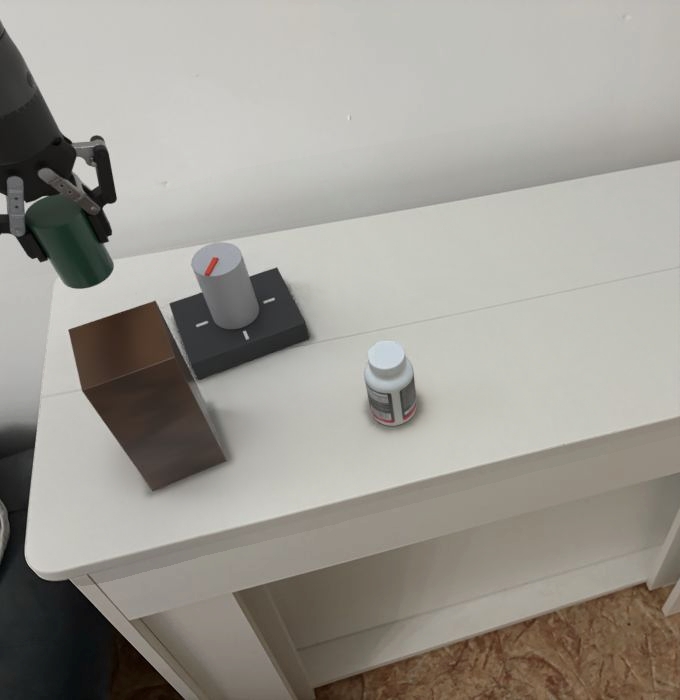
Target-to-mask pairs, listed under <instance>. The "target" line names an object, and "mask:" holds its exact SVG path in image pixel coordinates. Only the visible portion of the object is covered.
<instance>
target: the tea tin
mask: <svg viewBox="0 0 680 700" xmlns="http://www.w3.org/2000/svg"><path fill="white" fill-rule="evenodd" d="M25 222H26V223H27V225H28V227H29V228H30V230H31V231H32V233H33V235H34V236H35V238H36V240H37V241H38V243H39V244H40V246H41V248H42V249H43V251H44V253H45V254H46V256H47V257H48V261H49V263H50V264H51V265H52V268H53V269H54V271H55V272H56V274H57V276H58V277H59V279H60V280H61V282H62V283H63V284H64V285H65V286H66V287H67V288H70V289H74V290H75V289H76V290H83V289H89V288H93V287H96V286H98V285H100V284H102V283H103V282H105V281H106V280H107V279H108V278H109V277H110V276H111V275H112V273H113V272H114V268H115V264H114V261H113V259H112V257H111V255H110V253H109V251H108V249H107V247H106V245H105V243H103V244H102V243H101V241H100V239H99V238H98V236H97V234H96V232H95V230H94V228H93V226H92V224H91V222H90V220H89V218H88V216H87V213H86V211H85V210H84V209H83V208H81V207H80V206H79V205H78V204H76V203H75V202H74V203H73V202H71V201H70V200H69V199H67V198H66V197H65V196H64V195H62V194H57V195H54V196H43V197H41V198H39V199H37V200H35V201H34V203H32V204H31V205H29V207H28V208H27V209H26V210H25Z"/></svg>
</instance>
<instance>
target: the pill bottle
mask: <svg viewBox="0 0 680 700" xmlns="http://www.w3.org/2000/svg"><path fill="white" fill-rule="evenodd" d="M366 357H367V362H366V364H365V366H364V368H363V378H364V383H365V388H366V393H367V399H368V403H369V409H370V413H371V415H372V417H373V419H374V420H375V421H377V422H378V423H380V424H382V425H385V426H390V427H391V426H392V427H393V426H399V425H402V424H404V423H406V422H408V421H409V420H411V418H413V416H414V414H416V410H417V407H418V406H417V405H418V404H417V403H418V402H417V401H418V399H417V391H416V381H415V371H414V366H413V363H412V361H411V360H410V359H409V358H408V357H407V355H406V351H405V349H404V347H403V346H402V345H401V344H400V343H399V342H397V341H395V340H390V339H389V340H386V339H385V340H380V341H377V342H376V343H375V344H373V345H372V346H371V347H370V348H369V349H368V352H367V356H366Z"/></svg>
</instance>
